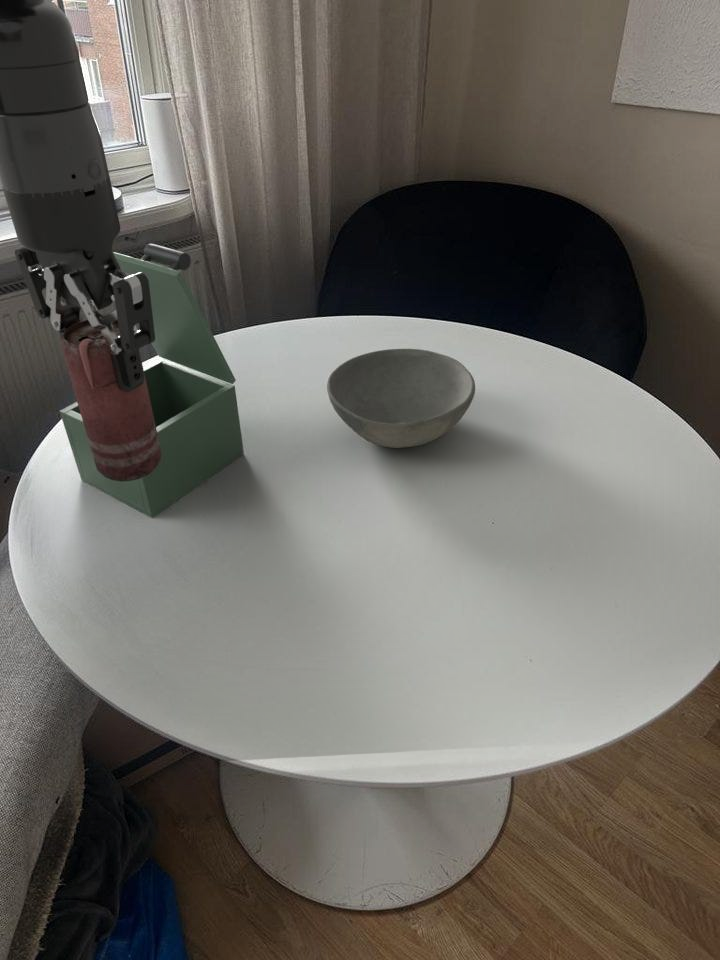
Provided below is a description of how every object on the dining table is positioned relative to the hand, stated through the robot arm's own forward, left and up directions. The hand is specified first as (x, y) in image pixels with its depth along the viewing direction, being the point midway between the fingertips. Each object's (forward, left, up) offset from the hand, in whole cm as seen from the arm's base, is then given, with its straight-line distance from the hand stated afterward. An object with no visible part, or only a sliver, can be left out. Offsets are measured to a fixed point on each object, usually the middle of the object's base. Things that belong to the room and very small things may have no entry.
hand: (107, 376), depth 62 cm
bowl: (+37, +22, -28) cm, 51 cm away
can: (0, 0, -10) cm, 10 cm away
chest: (+3, +24, -27) cm, 37 cm away
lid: (+7, +27, -8) cm, 29 cm away
